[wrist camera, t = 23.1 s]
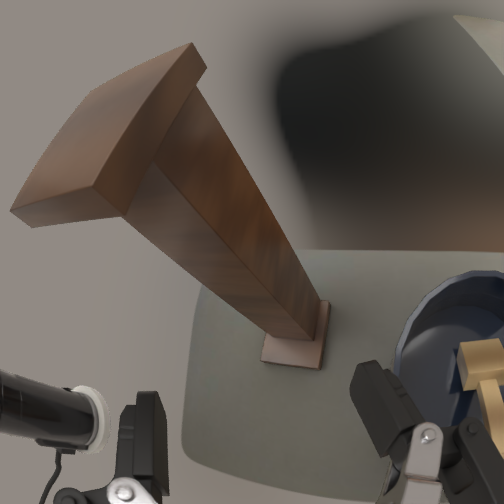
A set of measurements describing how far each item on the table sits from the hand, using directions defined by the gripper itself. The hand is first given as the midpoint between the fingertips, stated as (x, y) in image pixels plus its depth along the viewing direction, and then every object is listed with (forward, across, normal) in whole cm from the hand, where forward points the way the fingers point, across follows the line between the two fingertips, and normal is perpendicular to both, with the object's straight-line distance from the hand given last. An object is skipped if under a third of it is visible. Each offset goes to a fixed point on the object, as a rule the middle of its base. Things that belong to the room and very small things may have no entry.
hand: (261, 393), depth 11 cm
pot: (+5, -24, +14) cm, 28 cm away
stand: (+19, -8, +15) cm, 26 cm away
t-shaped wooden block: (0, -22, +11) cm, 25 cm away
